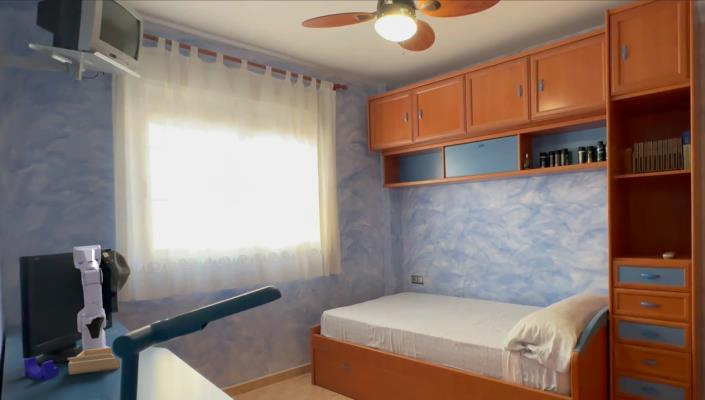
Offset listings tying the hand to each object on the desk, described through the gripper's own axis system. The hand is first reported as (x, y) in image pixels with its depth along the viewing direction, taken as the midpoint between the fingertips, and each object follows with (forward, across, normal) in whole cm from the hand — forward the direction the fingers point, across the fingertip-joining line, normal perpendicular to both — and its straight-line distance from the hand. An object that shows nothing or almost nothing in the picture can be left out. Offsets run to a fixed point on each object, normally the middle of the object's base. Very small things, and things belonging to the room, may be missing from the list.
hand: (95, 338), depth 161 cm
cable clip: (+11, +3, -17) cm, 20 cm away
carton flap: (+4, +8, +1) cm, 9 cm away
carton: (+10, 0, +1) cm, 10 cm away
